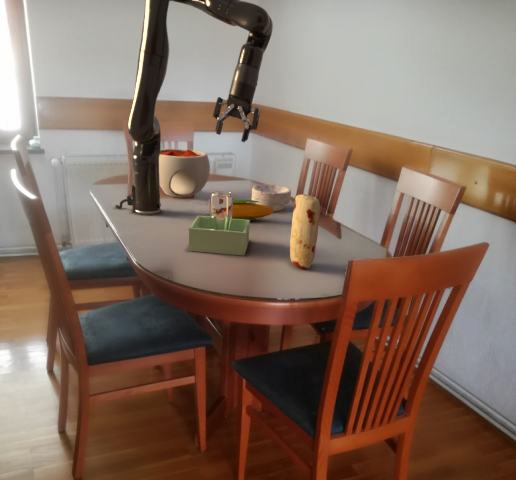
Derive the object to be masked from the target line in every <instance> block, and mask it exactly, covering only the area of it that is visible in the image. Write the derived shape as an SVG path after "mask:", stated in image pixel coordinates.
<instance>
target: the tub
mask: <svg viewBox="0 0 516 480" xmlns="http://www.w3.org/2000/svg"><path fill="white" fill-rule="evenodd" d="M250 224H251V221H250V220H243V219H232V221H231V225H230V231H225V230H213V229H212V224H211V217H210V216H206V215H197V216H196V217H195V219H193V221H192V223H191V225H190V226H189V227H188V251H189V252H199V253H211V254H223V255H234V256H235V255H236V256H245V255H246V252H247V249H248V245H249V242H250Z"/></svg>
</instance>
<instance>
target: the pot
mask: <svg viewBox="0 0 516 480" xmlns="http://www.w3.org/2000/svg"><path fill="white" fill-rule="evenodd" d="M209 159H210V158H209V156H208V154H207V153H205V152H204V151H200V150H194V149H189V148H188V149H186V148H185V149H184V148H161V151H160V156H159V178H160V189H162V191H163V192H164V194H166V195H167V196H169V197H171V198H176V199H177V198H178V199H186V198H191V197H193V196H195V195H197V194H198V193H200V191H202V190H203V188H204V187H205V186H206V184H207V183H208V181H209V177H210V172H211V164H210V160H209Z"/></svg>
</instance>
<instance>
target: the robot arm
mask: <svg viewBox="0 0 516 480" xmlns="http://www.w3.org/2000/svg"><path fill="white" fill-rule="evenodd" d="M170 2H174V3H179V4H183V5H187V6H190V7H193V8H195V9H198V10H200V11H201V12H203V13H204V14H206V15H208V16H210V17H212V18H214V19H215V20H218V21H220V22H222V23H224V24H226V25H228V26H232V27H239V28H241V29H242V30H243V29H244V30H245V31H247V32H248V36H247V39H246V42H245V43H243V44H242V46H241V48H240V51H239V54H238V59H237V63H236V65H235V69H234V72H233V75H232V80H231V84H230V88H229V92H228V97H227V99H224V98H222V97H220V96H218V97H217V99H216V102H215V106H214V109H213V112H212V117H213V118H215V120H216V125H215V128H214V130H215V132H216V135H219V136H220V135H221V134H222V130H223V126H224V121H225V120H227V118H230V117H231V118H236V119H238V120H242V122H243V125H244V127H245V128H243V132H242V136H241V140H240V141H241V142H242V143H246V142H247V141H248V139H249V136H250V132H251V131H252V130H255V131H256V130H257V129H258V125H259V120H260V115H261V109H260V108H259V107H253V106H252V105H253V101H254V98H255V93H256V90H257V86H258V82H259V76H260V70H261V66H262V62H263V59H264V54H265V52H266V50H267V48H268V45H269V43H270V40H271V37H272V34H273V29H274V23H273V19H272V17H271V16H270V15H269V13H268V11H267V10H266V9H265V8H264V7H262V6H260V5H258V4H255V3H252V2H249V1H244V0H144V14H143V22H142V29H141V37H140V44H139V51H138V58H137V66H136V75H135V83H134V84H135V85H134V94H133V100H132V104H131V109H130V111H129V117H128V121H127V131H128V135H129V136H130V138H131V139H132V141H134V149H133V151H132V154H131V162H132V163H131V164H132V184H131V193H129V194H128V195H127V196H126V198H124V199H122V200H120V202H119V205H118V204H116V205H114V206H115V209H121V208H122V207H123V203H127V206H130V207H131V206H132V213H135V214H138V215H145V216H147V215H149V216H151V215H158V214H161V212H162V211H161V207H162V203H161V186H160V178H159V156H160V151H161V149H162V148H161V146H162V145H161V143H162V141H161V140H162V139H161V138H162V136H161V135H162V134H161V133H162V132H161V124H160V122H159V119H158V117H157V116H156V115H155V112H156V103H157V100H158V97H159V94H160V92H161V90H162V87H163V84H164V81H165V79H166V75H167V70H168V65H169V60H170V59H169V58H170V40H169V39H170V38H169V33H168V20H167V19H168V11H169V6H170ZM224 106H225V107H226V109H224V110H223V111H222V108H223V107H224ZM221 111H222V113H221ZM250 113H251V115H252V120H251V123H250V119H249V116H248V115H250Z"/></svg>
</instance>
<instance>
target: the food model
mask: <svg viewBox="0 0 516 480" xmlns="http://www.w3.org/2000/svg"><path fill="white" fill-rule="evenodd" d="M320 217H321V204H320V199H318V198H317V197H316V196H311V195H309V194H307V193H305V194H297V195H296V196H295V198H294V205H293V212H292V221H291V231H290V242H289V257H290V261H291V264H292V265H293V266H294V267H296V268H298V269H300V270H306V269H307V270H308V269H310V268H311V265H312V264H313V262H314V260H315V256H316V255H315V254H316V248H317V240H318V235H319V234H318V233H319V224H320Z"/></svg>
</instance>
